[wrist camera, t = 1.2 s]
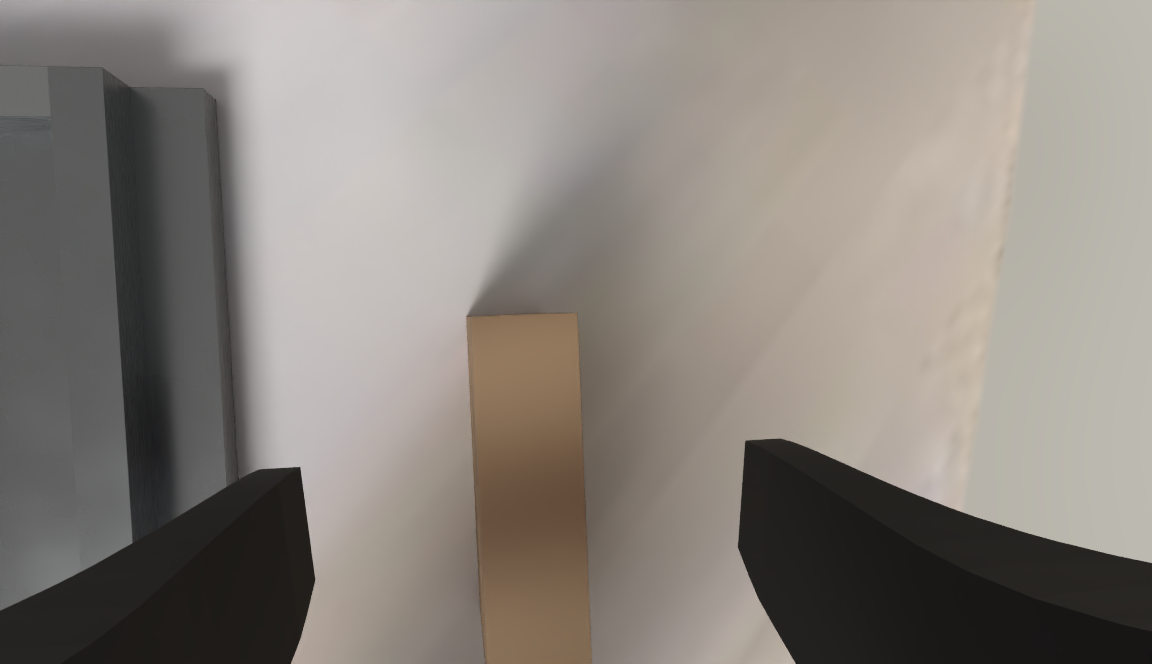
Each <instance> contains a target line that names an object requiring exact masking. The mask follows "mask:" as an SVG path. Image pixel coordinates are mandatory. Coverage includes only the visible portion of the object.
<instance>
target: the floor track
mask: <svg viewBox="0 0 1152 664" xmlns="http://www.w3.org/2000/svg"><path fill="white" fill-rule="evenodd" d="M237 480H238V471H237V454H236V437H235V420H234V403H233V387H232V370H231V353H230V336H229V319H228V302H227V285H226V268H225V251H224V234H223V217H222V200H221V183H220V166H219V149H218V132H217V115H216V100H215V99H214V98H213V97H212V96H211V95H210V94H209V93H208V92H206V91H205V90H204V89H203V88H137V87H129V86H128V85H126V84H125V83H123V82H122V81H121V80H119V79H118V78H116V77H115V76H113V75H112V74H111V73H109V72H108V71H106V70H105V69H103V68H102V67H50V66H0V610H2V609H5V608H7V607H9V606H11V605H13V604H15V603H18V602H20V601H22V600H24V599H26V598H28V597H30V596H33V595H35V594H37V593H39V592H41V591H43V590H45V589H47V588H50V587H52V586H54V585H56V584H58V583H60V582H62V581H64V580H66V579H68V578H70V577H72V576H74V575H76V574H77V573H79V572H81V571H83V570H85V569H87V568H89V567H91V566H93V565H94V564H96V563H98V562H100V561H102V560H103V559H105V558H107V557H109V556H110V555H112V554H114V553H116V552H118V551H119V550H121V549H123V548H125V547H126V546H128V545H130V544H132V543H133V542H135V541H137V540H139V539H141V538H142V537H144V536H146V535H148V534H149V533H151V532H153V531H155V530H156V529H158V528H160V527H162V526H163V525H165V524H166V523H168V522H170V521H171V520H173V519H175V518H176V517H178V516H180V515H181V514H183V513H184V512H186V511H188V510H189V509H191V508H193V507H194V506H196V505H198V504H199V503H201V502H202V501H204V500H206V499H207V498H209V497H211V496H212V495H214V494H216V493H217V492H219V491H220V490H222V489H224V488H225V487H227V486H229V485H231V484H232V483H234V482H236V481H237Z"/></svg>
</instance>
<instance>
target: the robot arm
mask: <svg viewBox="0 0 1152 664" xmlns="http://www.w3.org/2000/svg"><path fill="white" fill-rule="evenodd" d="M738 549H739V551H740V554H741V556H742V559H743V562H744V564H745V567H746V569H747V572H748V575H749V577H750V579H751V582H752V584H753V587H754V589H755V591H756V594H757V596H758V598H759V600H760V602H761V604H762V606H763V608H764V609H765V611H766V613H767V615H768V616H769V618H770V620H771V622H772V623H773V625H774V627H775V629H776V630H777V632H778V634H779V636H780V637H781V639H782V641H783V643H784V644H785V646H786V648H787V649H788V651H789V653H790V654H791V656H792V658H793V660H794V661H795V663H796V664H1152V563H1148V562H1144V561H1139V560H1133V559H1129V558H1124V557H1119V556H1115V555H1110V554H1106V553H1102V552H1098V551H1094V550H1090V549H1086V548H1082V547H1078V546H1074V545H1069V544H1065V543H1061V542H1057V541H1053V540H1050V539H1046V538H1042V537H1039V536H1035V535H1032V534H1028V533H1025V532H1021V531H1018V530H1015V529H1012V528H1009V527H1005V526H1002V525H999V524H996V523H993V522H990V521H987V520H983V519H980V518H977V517H974V516H971V515H968V514H966V513H963V512H960V511H957V510H954V509H951V508H949V507H946V506H944V505H941V504H939V503H936V502H933V501H931V500H928V499H926V498H923V497H921V496H918V495H915V494H913V493H910V492H908V491H906V490H903V489H901V488H898V487H896V486H894V485H891V484H889V483H887V482H884V481H882V480H880V479H877V478H875V477H873V476H871V475H868V474H866V473H864V472H861V471H859V470H857V469H855V468H853V467H850V466H848V465H846V464H844V463H841V462H839V461H837V460H835V459H832V458H830V457H828V456H826V455H823V454H821V453H819V452H816V451H814V450H812V449H809V448H807V447H804V446H802V445H799V444H797V443H794V442H791V441H787V440H784V439H765V440H748V441H745V454H744V468H743V483H742V497H741V512H740V526H739V541H738ZM314 583H315V575H314V568H313V560H312V553H311V545H310V538H309V530H308V523H307V515H306V507H305V500H304V492H303V485H302V477H301V470H300V467H293V468H276V469H260V470H257V471H255V472H253V473H250V474H249V475H247V476H245V477H243V478H241V479H239V480H237V481H236V482H234V483H232V484H231V485H229V486H227V487H225V488H224V489H222V490H220V491H219V492H217V493H216V494H214V495H212V496H211V497H209V498H207V499H206V500H204V501H202V502H201V503H199V504H198V505H196V506H194V507H193V508H191V509H189V510H188V511H186V512H184V513H183V514H181V515H180V516H178V517H176V518H175V519H173V520H171V521H170V522H168V523H166V524H165V525H163V526H162V527H160V528H158V529H156V530H155V531H153V532H151V533H149V534H148V535H146V536H144V537H142V538H141V539H139V540H137V541H135V542H133V543H132V544H130V545H128V546H126V547H125V548H123V549H121V550H119V551H118V552H116V553H114V554H112V555H110V556H109V557H107V558H105V559H103V560H102V561H100V562H98V563H96V564H94V565H93V566H91V567H89V568H87V569H85V570H83V571H81V572H79V573H77V574H76V575H74V576H72V577H70V578H68V579H66V580H64V581H62V582H60V583H58V584H56V585H54V586H52V587H50V588H47V589H45V590H43V591H41V592H39V593H37V594H35V595H33V596H30V597H28V598H26V599H24V600H22V601H20V602H18V603H15V604H13V605H11V606H9V607H7V608H5V609H2V610H0V664H291V661H292V659H293V656H294V654H295V651H296V649H297V646H298V644H299V641H300V638H301V635H302V631H303V627H304V623H305V620H306V616H307V612H308V608H309V604H310V600H311V595H312V591H313V587H314Z"/></svg>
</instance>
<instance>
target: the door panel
mask: <svg viewBox="0 0 1152 664" xmlns="http://www.w3.org/2000/svg"><path fill="white" fill-rule="evenodd" d="M466 319H467V341H468V362H469V383H470V405H471V426H472V447H473V468H474V490H475V511H476V532H477V554H478V575H479V596H480V611H481V622H482V633H483V644H484V655H485V664H592V657H591V633H590V609H589V585H588V560H587V536H586V512H585V488H584V464H583V439H582V415H581V391H580V367H579V343H578V318H577V313H535V314H511V315H488V316H466Z"/></svg>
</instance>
